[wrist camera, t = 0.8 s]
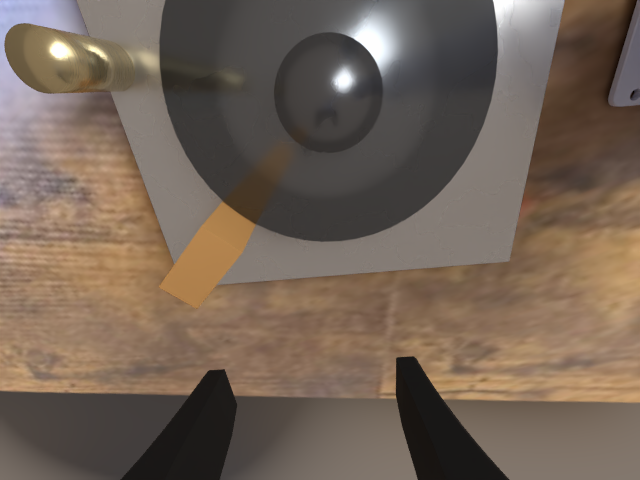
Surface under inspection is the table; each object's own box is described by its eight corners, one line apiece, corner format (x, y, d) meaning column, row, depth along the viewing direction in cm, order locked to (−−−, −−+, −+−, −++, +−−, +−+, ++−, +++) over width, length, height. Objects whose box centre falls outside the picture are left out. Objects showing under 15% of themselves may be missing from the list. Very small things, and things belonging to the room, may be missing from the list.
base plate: (591, -260, 10) (829, -567, 6) (496, 249, 19) (554, 304, 15) (25, -168, 11) (-197, -358, 7) (184, 274, 20) (141, 334, 16)
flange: (299, -253, 10) (285, -462, 6) (548, 70, 14) (633, 65, 10) (90, 181, 16) (21, 209, 12) (301, 314, 20) (296, 365, 16)
